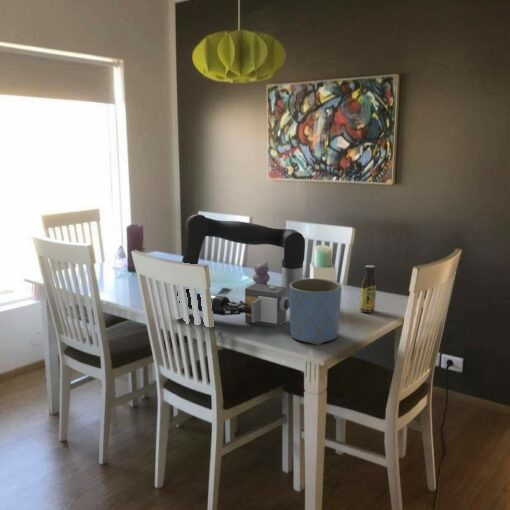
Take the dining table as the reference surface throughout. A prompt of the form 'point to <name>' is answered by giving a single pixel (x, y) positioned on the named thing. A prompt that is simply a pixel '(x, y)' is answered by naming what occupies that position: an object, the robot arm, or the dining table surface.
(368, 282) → the sauce bottle
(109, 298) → the dining table surface
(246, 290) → the camera housing
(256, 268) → the cat figurine
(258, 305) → the side door
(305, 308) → the planter
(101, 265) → the dining table surface
